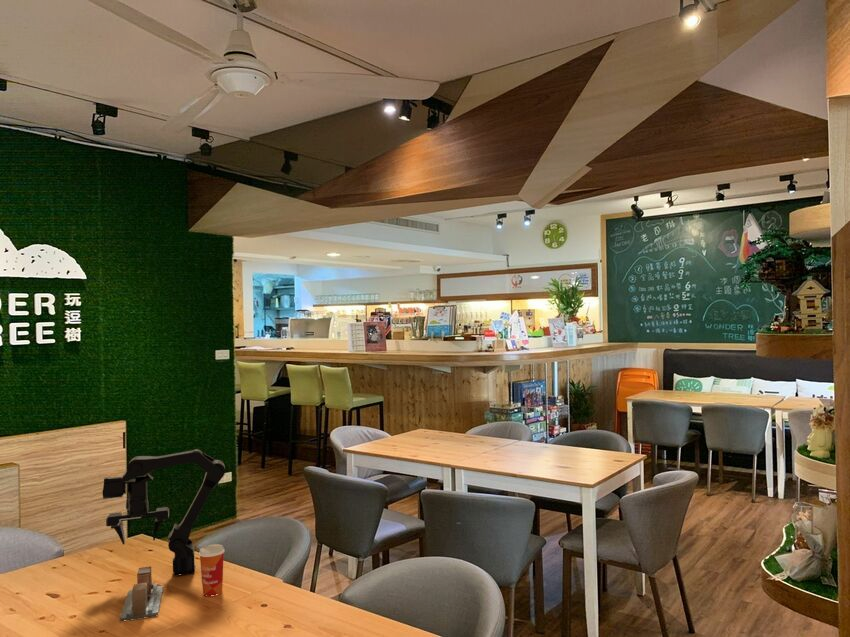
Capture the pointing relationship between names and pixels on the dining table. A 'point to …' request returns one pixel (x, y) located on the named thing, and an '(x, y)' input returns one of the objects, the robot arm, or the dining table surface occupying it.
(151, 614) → the rail
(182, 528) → the robot arm
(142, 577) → the tan wooden block
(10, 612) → the dining table surface
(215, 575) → the paper cup
